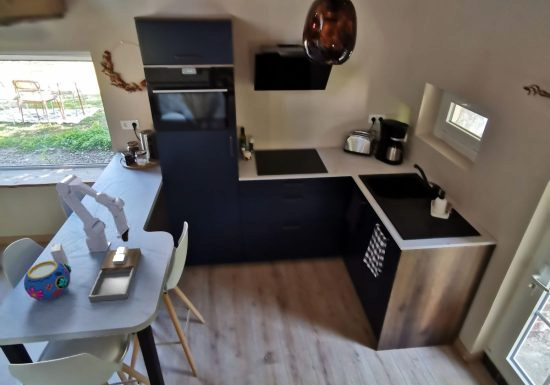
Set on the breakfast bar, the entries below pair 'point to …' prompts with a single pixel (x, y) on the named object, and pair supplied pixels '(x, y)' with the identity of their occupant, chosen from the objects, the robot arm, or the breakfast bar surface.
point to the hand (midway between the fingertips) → (125, 241)
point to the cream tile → (122, 250)
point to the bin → (112, 285)
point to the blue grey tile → (119, 258)
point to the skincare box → (59, 254)
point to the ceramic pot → (47, 280)
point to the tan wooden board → (129, 263)
